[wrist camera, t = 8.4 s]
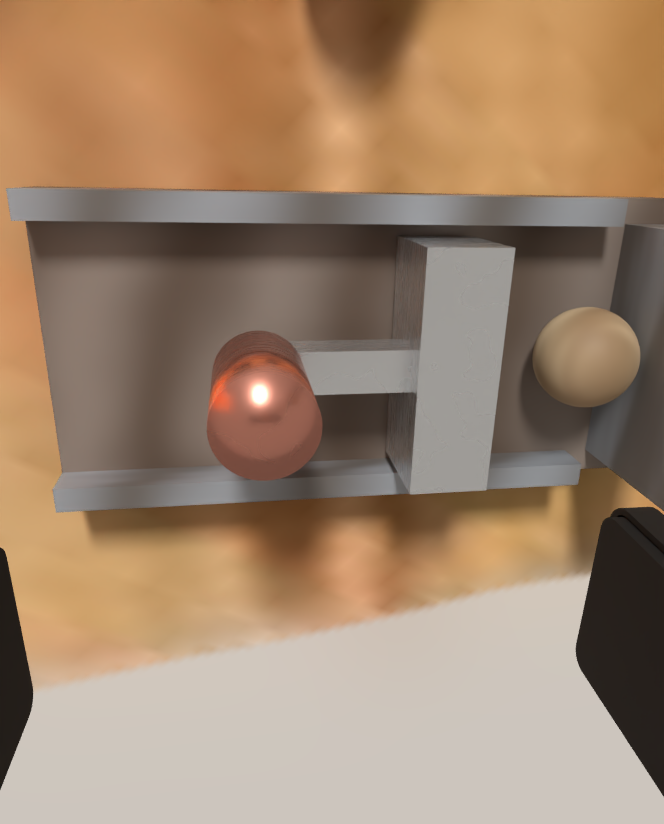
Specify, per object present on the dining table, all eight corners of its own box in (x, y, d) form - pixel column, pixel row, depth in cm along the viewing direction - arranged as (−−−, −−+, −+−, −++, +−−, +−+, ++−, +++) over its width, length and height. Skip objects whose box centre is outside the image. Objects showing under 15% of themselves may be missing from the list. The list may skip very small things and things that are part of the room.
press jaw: (472, 236, 24) (576, 264, 17) (452, 447, 28) (532, 548, 20) (208, 234, 23) (197, 263, 16) (219, 457, 26) (214, 570, 19)
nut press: (652, 197, 27) (798, 206, 20) (603, 453, 31) (710, 534, 24) (33, 186, 23) (-53, 192, 16) (73, 478, 27) (20, 581, 20)
